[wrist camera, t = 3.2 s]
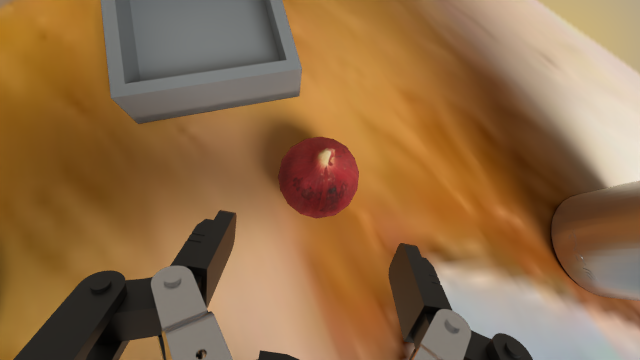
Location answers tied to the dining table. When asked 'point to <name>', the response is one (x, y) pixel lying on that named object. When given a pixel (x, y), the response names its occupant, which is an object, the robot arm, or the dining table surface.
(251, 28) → the bin
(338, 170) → the onion
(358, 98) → the dining table surface
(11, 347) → the dining table surface
